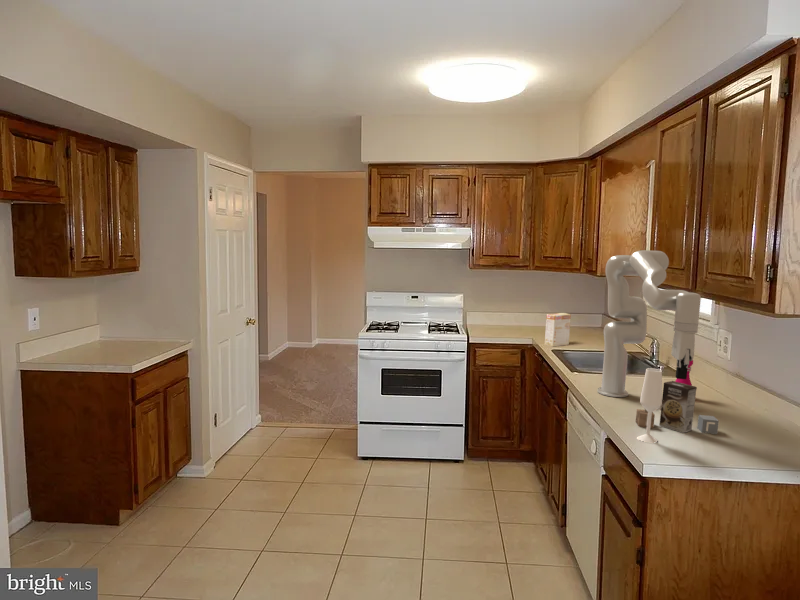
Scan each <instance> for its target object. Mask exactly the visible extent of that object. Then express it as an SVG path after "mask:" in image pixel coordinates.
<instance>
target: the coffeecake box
mask: <svg viewBox="0 0 800 600" xmlns="http://www.w3.org/2000/svg"><path fill="white" fill-rule="evenodd" d="M571 318H572V314H570V313H566V312H556V313H546V320H545V333H544V334H545V335H544V346H548V347H560V346H561V347H563V346H569V343H570V333H571V320H572V319H571Z"/></svg>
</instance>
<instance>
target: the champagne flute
mask: <svg viewBox="0 0 800 600" xmlns="http://www.w3.org/2000/svg"><path fill="white" fill-rule="evenodd" d="M662 374H663V371H662V369H657V368H655V367H654V368H653V367H652V368H651V367H650V368H649V367H648V368H646V369H645V374H644V377H643V379H644V380H643V385H642V388H641V394H640V398H639V399H640V400H639V401H640V405H641V406H642V408H643V409H644V410H645V409H646V410H647V411H648V418H647V427H645V428H646V431H645V433H644V434H642V435H639V436H637V437H636V440H638V441H639V440H641V441H640V442H642V441H644V442H643V443H645V442H650V443H649V444H655V443H654V442H657V440H658V439H656V438H655V437H654V436H653V435H651V428H650V427H651V416H652V412H653V413H654V412H655V411H656V410H658V409H661V405H662V396H663V375H662Z"/></svg>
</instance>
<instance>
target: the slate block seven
mask: <svg viewBox="0 0 800 600" xmlns="http://www.w3.org/2000/svg"><path fill="white" fill-rule="evenodd" d="M719 422H720V421H719V420H718V419H717V417H715V416H714V415H704V414H698V418H697V426H696V428H697V429H698V431H699V432H700V433H701V434H709V433H711V435H712V434H713V435H718V431H719Z"/></svg>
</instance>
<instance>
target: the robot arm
mask: <svg viewBox="0 0 800 600" xmlns="http://www.w3.org/2000/svg"><path fill="white" fill-rule="evenodd" d="M669 264H670V260H669V257H668V255H667V254H666V253H665V252H664V251H661V250H649V249H647V250H645V249H644V250H637V251H635V252H633V253H632V254H631V255H630V254H629V255H628V254H627V255H626V254H621V255H619V254H617V255H614V256H611V257H610V258H608V259H607V262H606V264H605V269H604V270H605V272H604V273H605V278H606V280H607V281H606V283H607V312H608V316H610V318H614V319H630V321H625V320H624V321H622V320H621V321H620V320H617V321H615V320H614V321H610V322H608V323H606V324H605V325H604V327H603V340H604V341H603V342H604V347H603V348H604V349H603V350H604V351H603V362H602V363H603V365H602V376H601V377H602V378H601V386H600V387H598V388H597V390H596V391H597V393H598V394H600V395H603V396H606V397H611V398H626V397H628V396H629V391H627V390H626V379H627V370H628V368H627V367H628V356H629V355H628V351H627V350H626V348H625V346H624V345H627V344H628V345H629V344H630V345H631V344H633V345H638V344H642V343H644V341H646V337H647V329H648V328H647V325H648V324H647V323H648V322H647V321H648V308H647V304H648V305H649V306H650V307H651V308H652V309H654V310H656V311H675V312H674V323H673V331H674V332H673V333H674V335H673V338H672V339H673V340H672V347H671V356H672V357H673V358H674V359H676V367H675V378H676V379H686V378H687V368H688V365H689V361H692V360H693V361H694V355H695V345H696V344H695V342H696V341H695V340H696V334H698V332H699V320H700V310H701V309H700V308H701V302H702V301H701V299H702V298H701V295H700V294H699V293H696V292H691V291H690V292H689V291H687V290H684V289H660V288H659V287H658V286H660V285H661V284H664V283H663V282H665V281H666V280H667V271H666V270H667V269H668V267H669ZM625 276H629V277H630V276H632V277H634V276H635V277H639V278H640V279H641V280H642V281H643V283H642V287H641V290H642V297H643V298H644V299H643V298H642V297H640V296H633V295H632V296H631V295H630V285H629V283H628V280H627V279H626V277H625ZM646 303H647V304H646Z"/></svg>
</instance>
